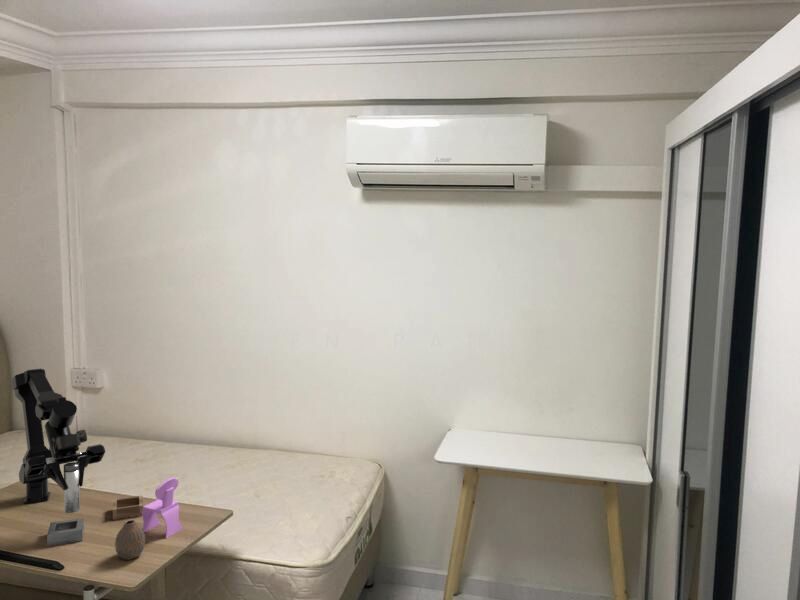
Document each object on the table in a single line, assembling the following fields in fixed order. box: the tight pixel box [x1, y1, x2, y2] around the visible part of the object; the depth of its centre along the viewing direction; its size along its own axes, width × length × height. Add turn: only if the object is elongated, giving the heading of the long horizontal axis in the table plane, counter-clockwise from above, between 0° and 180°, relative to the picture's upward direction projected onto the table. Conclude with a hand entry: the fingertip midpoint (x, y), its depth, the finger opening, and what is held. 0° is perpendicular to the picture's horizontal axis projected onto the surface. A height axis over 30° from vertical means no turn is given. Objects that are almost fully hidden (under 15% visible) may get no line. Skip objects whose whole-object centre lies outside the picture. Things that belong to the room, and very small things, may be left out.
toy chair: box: [142, 477, 184, 539], centre depth 164 cm, size 8×9×15 cm
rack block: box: [112, 495, 144, 521], centre depth 175 cm, size 8×8×3 cm
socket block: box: [46, 517, 85, 547], centre depth 159 cm, size 8×8×3 cm
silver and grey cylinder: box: [63, 461, 81, 514], centre depth 160 cm, size 4×4×12 cm
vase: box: [114, 519, 146, 561], centre depth 150 cm, size 7×7×9 cm
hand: (73, 487), depth 159 cm, fingers closed on silver and grey cylinder, 4 cm apart
